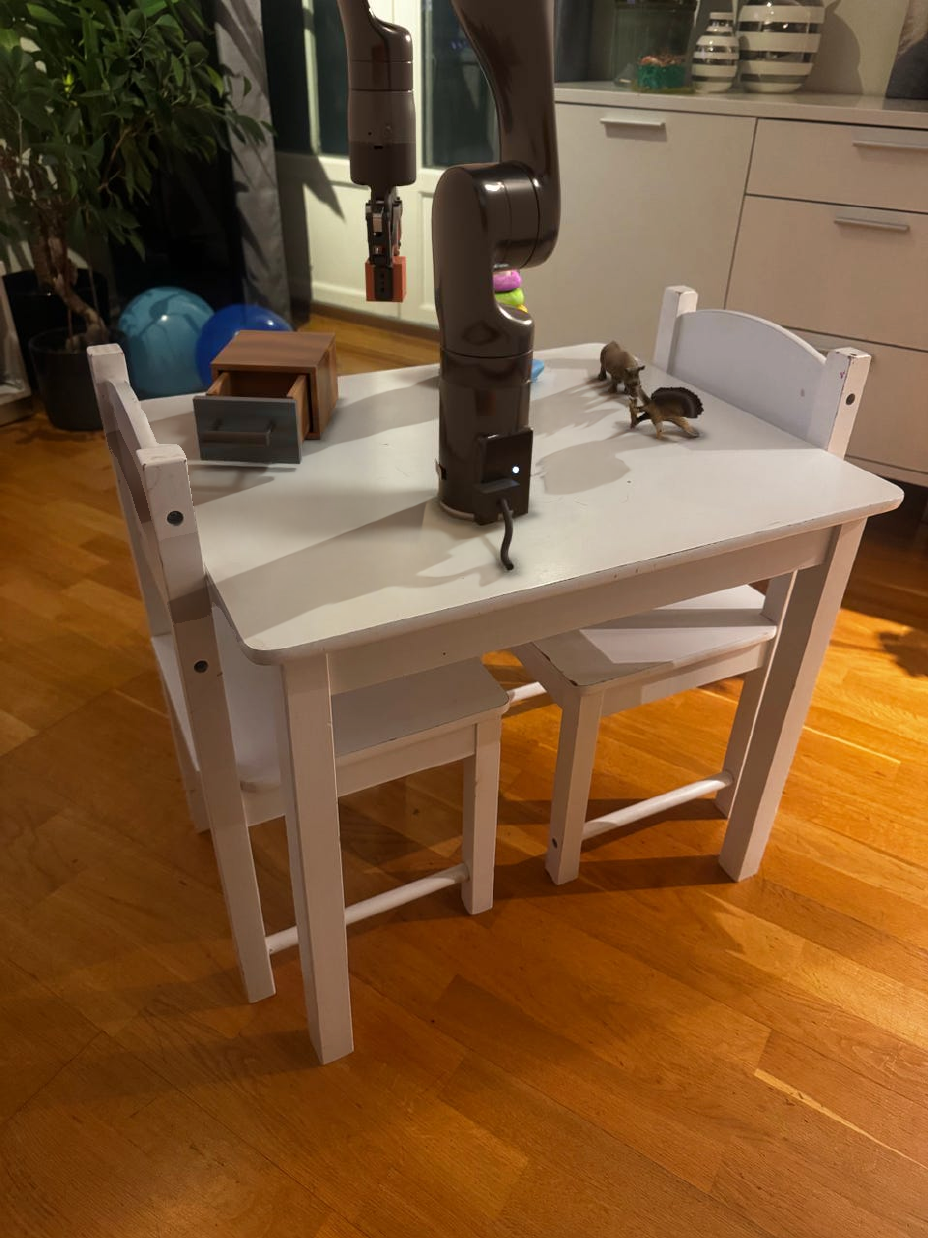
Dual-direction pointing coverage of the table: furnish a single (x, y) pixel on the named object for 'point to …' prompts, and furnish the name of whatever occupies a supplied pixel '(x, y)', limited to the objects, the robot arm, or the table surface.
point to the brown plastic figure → (667, 408)
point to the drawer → (254, 417)
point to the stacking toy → (513, 303)
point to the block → (398, 280)
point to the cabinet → (288, 364)
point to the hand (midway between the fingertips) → (386, 294)
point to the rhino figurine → (620, 368)
